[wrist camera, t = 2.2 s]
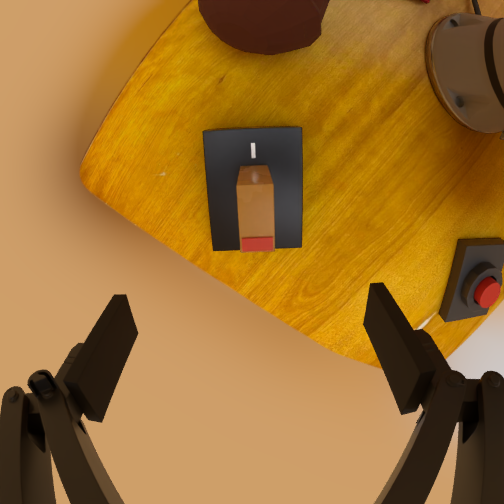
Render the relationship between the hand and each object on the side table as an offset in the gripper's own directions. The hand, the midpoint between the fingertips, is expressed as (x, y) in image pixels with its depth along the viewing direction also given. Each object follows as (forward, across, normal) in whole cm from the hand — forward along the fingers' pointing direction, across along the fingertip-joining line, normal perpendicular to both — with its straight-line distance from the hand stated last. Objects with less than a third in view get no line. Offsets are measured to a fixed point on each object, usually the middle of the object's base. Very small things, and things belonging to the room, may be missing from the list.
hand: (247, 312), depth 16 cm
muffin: (+14, +5, +25) cm, 29 cm away
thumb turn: (+15, +1, +3) cm, 15 cm away
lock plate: (+18, +1, +2) cm, 18 cm away
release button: (+15, +32, -11) cm, 36 cm away
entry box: (+18, +32, -11) cm, 38 cm away
